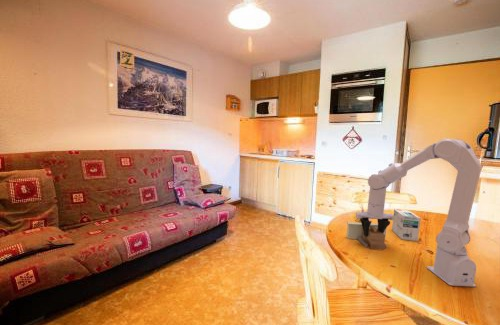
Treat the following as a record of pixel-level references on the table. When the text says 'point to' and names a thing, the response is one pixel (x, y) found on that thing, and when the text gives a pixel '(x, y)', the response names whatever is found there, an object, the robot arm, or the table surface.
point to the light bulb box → (406, 224)
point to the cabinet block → (374, 238)
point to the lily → (362, 211)
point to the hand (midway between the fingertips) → (372, 235)
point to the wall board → (359, 232)
